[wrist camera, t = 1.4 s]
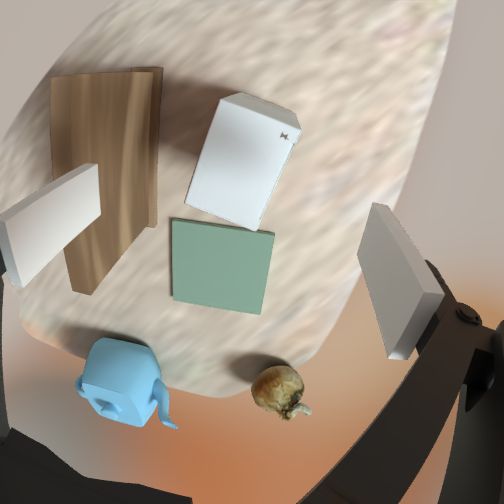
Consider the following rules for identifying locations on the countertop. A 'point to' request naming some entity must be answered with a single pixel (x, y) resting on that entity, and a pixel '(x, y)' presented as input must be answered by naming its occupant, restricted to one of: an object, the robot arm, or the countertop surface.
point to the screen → (108, 160)
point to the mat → (220, 265)
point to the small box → (242, 159)
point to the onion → (280, 391)
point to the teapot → (124, 382)
